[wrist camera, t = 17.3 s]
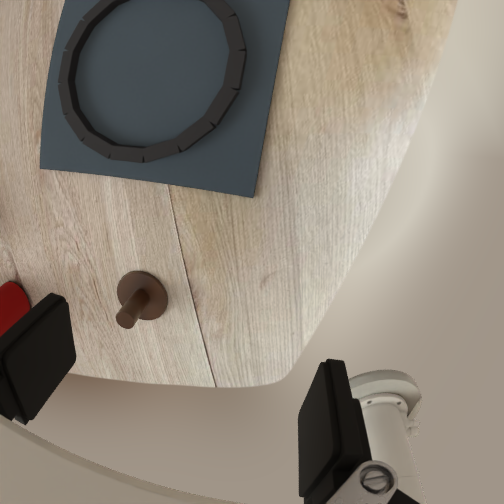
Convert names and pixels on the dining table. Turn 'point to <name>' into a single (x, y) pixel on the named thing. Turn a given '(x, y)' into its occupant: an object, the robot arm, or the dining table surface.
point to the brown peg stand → (140, 298)
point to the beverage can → (11, 305)
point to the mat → (166, 90)
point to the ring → (188, 136)
